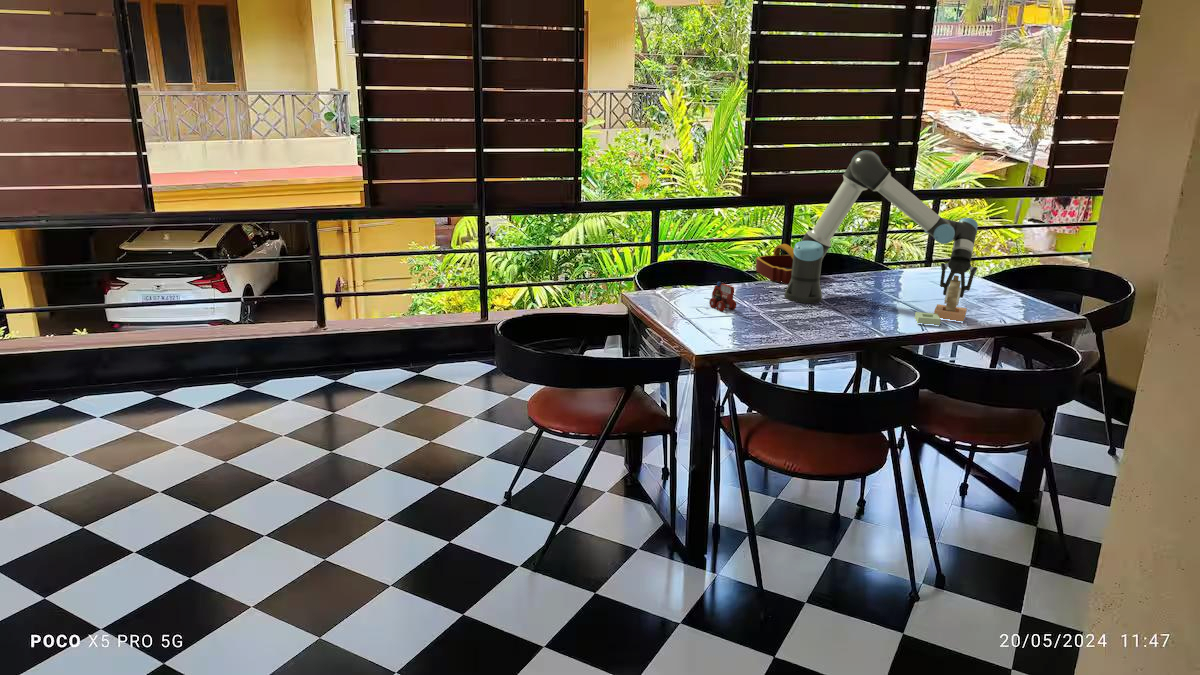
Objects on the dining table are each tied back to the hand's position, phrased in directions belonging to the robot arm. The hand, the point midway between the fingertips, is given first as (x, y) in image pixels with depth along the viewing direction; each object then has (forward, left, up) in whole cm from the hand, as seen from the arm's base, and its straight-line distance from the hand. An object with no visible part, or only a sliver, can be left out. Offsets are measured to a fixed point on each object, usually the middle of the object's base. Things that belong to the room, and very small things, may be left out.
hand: (951, 302), depth 326 cm
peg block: (0, +4, -5) cm, 6 cm away
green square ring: (-7, -9, -7) cm, 14 cm away
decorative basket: (-74, +38, -8) cm, 84 cm away
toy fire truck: (-81, -34, -7) cm, 88 cm away
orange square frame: (0, +4, -7) cm, 8 cm away
